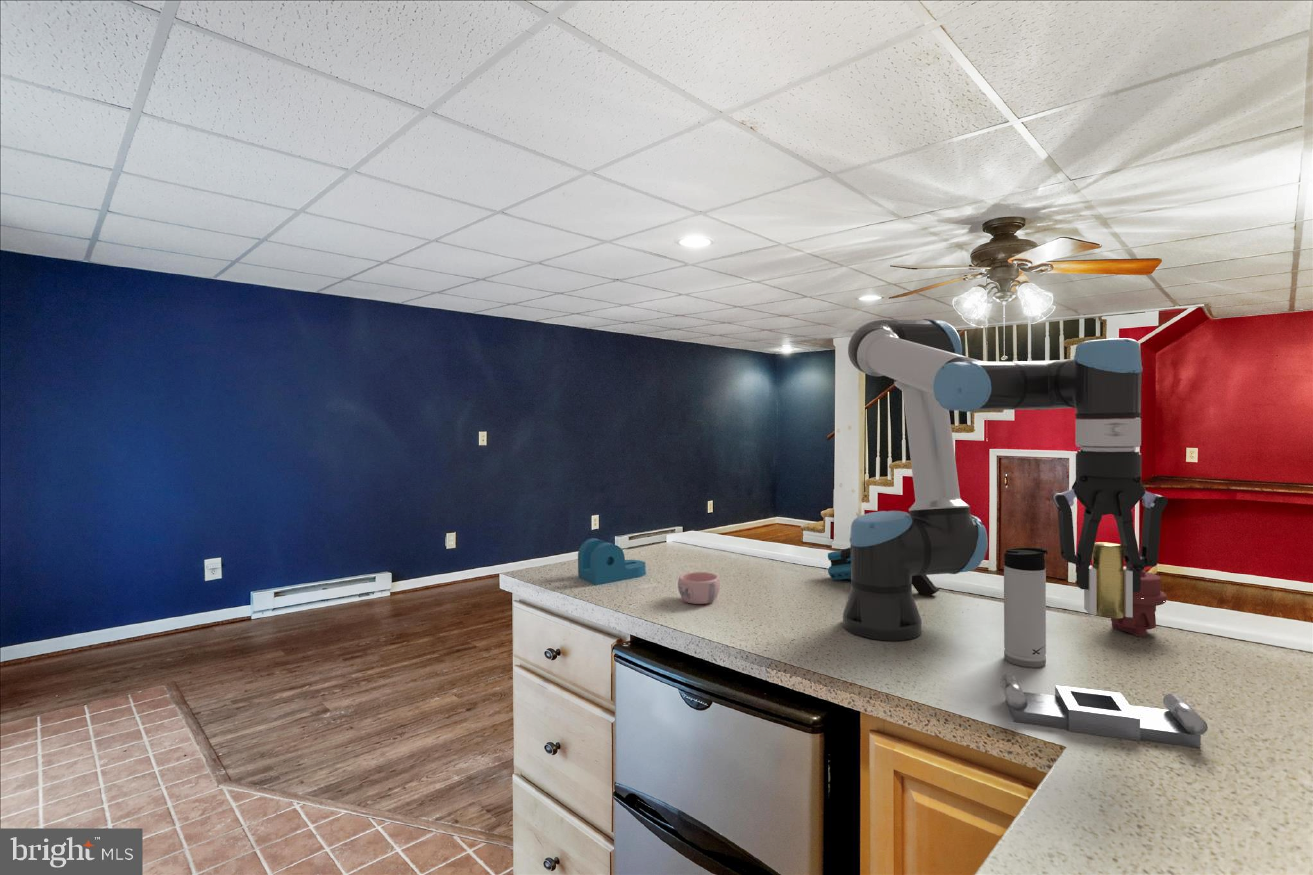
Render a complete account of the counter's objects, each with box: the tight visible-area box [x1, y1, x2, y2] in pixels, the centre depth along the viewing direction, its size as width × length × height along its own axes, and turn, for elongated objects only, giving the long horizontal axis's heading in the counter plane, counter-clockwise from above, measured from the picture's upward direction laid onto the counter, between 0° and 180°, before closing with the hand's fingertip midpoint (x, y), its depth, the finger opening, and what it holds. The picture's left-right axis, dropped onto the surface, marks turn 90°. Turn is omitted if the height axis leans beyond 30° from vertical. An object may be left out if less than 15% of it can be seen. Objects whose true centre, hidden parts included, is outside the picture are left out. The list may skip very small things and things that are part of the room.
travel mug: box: [1003, 547, 1049, 669], centre depth 107 cm, size 6×7×20 cm
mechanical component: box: [1110, 569, 1167, 638], centre depth 121 cm, size 12×10×10 cm
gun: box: [827, 546, 940, 596], centre depth 156 cm, size 8×26×15 cm, turn 43°
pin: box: [1091, 541, 1125, 619], centre depth 88 cm, size 4×4×10 cm
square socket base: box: [1000, 673, 1208, 749], centre depth 86 cm, size 22×8×4 cm, turn 68°
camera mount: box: [577, 537, 647, 586], centre depth 172 cm, size 18×10×10 cm, turn 123°
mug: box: [677, 571, 721, 605], centre depth 148 cm, size 12×10×6 cm
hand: (1107, 612), depth 88 cm, fingers closed on pin, 3 cm apart
